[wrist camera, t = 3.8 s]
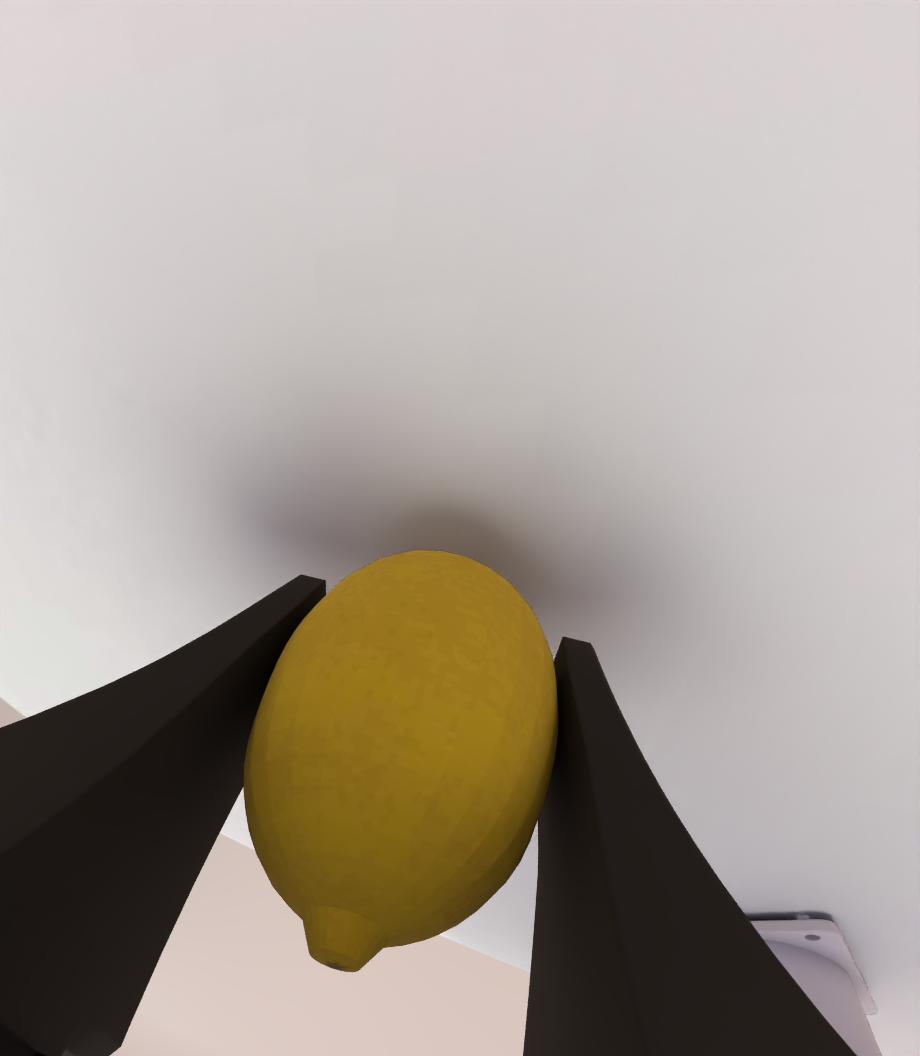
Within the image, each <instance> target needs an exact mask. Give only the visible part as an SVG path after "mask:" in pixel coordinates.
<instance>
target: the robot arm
mask: <svg viewBox="0 0 920 1056" xmlns="http://www.w3.org/2000/svg"><path fill="white" fill-rule="evenodd" d="M325 596H326V580H322V579H318V578H314V577H309V576H305V575H299V576H298V577H296V578H295V579H293V580H291V581H290V582H288V583H286V584H285V585H283V586H282V587H280V588H279V589H277V590H275V591H274V592H272V593H271V594H269V595H268V596H266V597H264V598H263V599H261V600H260V601H258V602H257V603H255V604H253V605H252V606H250V607H249V608H247V609H246V610H244V611H242V612H241V613H239V614H237V615H236V616H234V617H232V618H231V619H229V620H228V621H226V622H224V623H223V624H221V625H219V626H218V627H216V628H214V629H213V630H211V631H209V632H208V633H206V634H204V635H202V636H201V637H199V638H197V639H195V640H193V641H192V642H190V643H188V644H186V645H184V646H183V647H181V648H179V649H177V650H176V651H174V652H172V653H170V654H168V655H166V656H165V657H163V658H161V659H159V660H157V661H155V662H153V663H151V664H149V665H147V666H145V667H143V668H141V669H139V670H137V671H135V672H132V673H130V674H128V675H126V676H124V677H122V678H120V679H118V680H116V681H114V682H111V683H109V684H107V685H105V686H103V687H100V688H98V689H96V690H93V691H91V692H89V693H86V694H84V695H81V696H79V697H77V698H74V699H72V700H69V701H67V702H65V703H62V704H60V705H57V706H55V707H53V708H50V709H48V710H45V711H43V712H41V713H38V714H36V715H33V716H31V717H28V718H25V719H23V720H20V721H17V722H15V723H12V724H9V725H7V726H4V727H1V728H0V1056H109V1055H111V1054H112V1053H113V1052H115V1051H116V1050H117V1049H118V1048H119V1047H121V1045H122V1043H123V1040H124V1038H125V1035H126V1033H127V1031H128V1028H129V1026H130V1024H131V1021H132V1019H133V1017H134V1014H135V1012H136V1010H137V1008H138V1006H139V1003H140V1001H141V999H142V997H143V994H144V992H145V990H146V987H147V985H148V983H149V981H150V978H151V976H152V974H153V972H154V969H155V967H156V965H157V962H158V960H159V958H160V956H161V953H162V951H163V949H164V947H165V945H166V943H167V941H168V939H169V936H170V934H171V932H172V930H173V928H174V925H175V924H176V921H177V919H178V917H179V915H180V913H181V911H182V909H183V906H184V904H185V902H186V900H187V898H188V896H189V894H190V891H191V889H192V887H193V885H194V883H195V881H196V879H197V877H198V875H199V873H200V871H201V869H202V867H203V865H204V863H205V861H206V859H207V857H208V855H209V853H210V850H211V849H212V847H213V845H214V843H215V841H216V838H217V837H218V835H219V833H220V831H221V829H222V827H223V825H224V823H225V821H226V819H227V817H228V815H229V813H230V811H231V809H232V807H233V805H234V803H235V802H236V800H237V798H238V796H239V794H240V792H241V790H242V788H243V787H244V762H245V757H246V751H247V745H248V740H249V737H250V733H251V729H252V726H253V722H254V719H255V716H256V714H257V711H258V708H259V705H260V702H261V700H262V697H263V695H264V692H265V690H266V687H267V685H268V683H269V680H270V678H271V675H272V673H273V671H274V668H275V666H276V664H277V661H278V659H279V658H280V656H281V654H282V652H283V650H284V648H285V646H286V644H287V642H288V641H289V639H290V638H291V636H292V634H293V633H294V631H295V630H296V628H297V627H298V626H299V624H300V623H301V622H302V620H303V619H304V618H305V617H306V615H307V614H308V613H309V612H310V611H311V610H312V609H313V608H314V607H315V606H316V605H317V604H318V603H319V602H320V601H321V600H322V599H323V598H324V597H325ZM553 663H554V669H555V676H556V687H557V701H558V738H557V746H556V754H555V760H554V765H553V769H552V774H551V779H550V782H549V786H548V790H547V793H546V797H545V800H544V803H543V806H542V809H541V812H540V814H539V817H538V879H537V893H536V907H535V922H534V935H533V948H532V960H531V973H530V985H529V998H528V1008H527V1020H526V1030H525V1041H524V1051H523V1056H882V1054H881V1052H880V1050H879V1047H878V1045H877V1042H876V1040H875V1037H874V1035H873V1032H872V1030H871V1027H870V1025H869V1022H868V1020H867V1018H866V1015H873V1014H875V1013H877V1008H876V1005H875V1003H874V1001H873V999H872V997H871V995H870V992H869V990H868V988H867V986H866V984H865V982H864V980H863V978H862V976H861V974H860V972H859V970H858V967H857V965H856V963H855V961H854V959H853V957H852V955H851V953H850V951H849V949H848V947H847V945H846V943H845V940H844V938H843V936H842V934H841V932H840V930H839V928H838V926H837V925H836V924H835V923H834V922H831V921H829V920H823V919H812V920H771V921H749V919H748V918H747V916H746V915H745V914H744V912H743V911H742V910H741V908H740V907H739V906H738V904H737V903H736V902H735V900H734V899H733V897H732V896H731V895H730V893H729V892H728V891H727V889H726V888H725V887H724V885H723V884H722V882H721V881H720V879H719V878H718V877H717V875H716V874H715V872H714V871H713V869H712V868H711V866H710V865H709V863H708V862H707V860H706V859H705V857H704V856H703V854H702V853H701V851H700V850H699V848H698V847H697V845H696V844H695V842H694V841H693V839H692V838H691V836H690V834H689V833H688V831H687V830H686V828H685V827H684V825H683V823H682V822H681V820H680V819H679V817H678V816H677V814H676V812H675V811H674V809H673V807H672V806H671V804H670V802H669V801H668V799H667V797H666V796H665V794H664V792H663V790H662V789H661V787H660V785H659V783H658V782H657V780H656V778H655V776H654V774H653V773H652V771H651V769H650V767H649V765H648V764H647V762H646V760H645V758H644V756H643V754H642V752H641V751H640V749H639V747H638V745H637V743H636V741H635V739H634V737H633V735H632V733H631V731H630V729H629V727H628V725H627V723H626V721H625V719H624V717H623V715H622V713H621V711H620V708H619V706H618V704H617V702H616V700H615V698H614V695H613V693H612V691H611V689H610V686H609V684H608V682H607V679H606V677H605V675H604V672H603V670H602V668H601V665H600V663H599V660H598V658H597V655H596V653H595V650H594V648H593V646H592V645H591V643H588V642H584V641H580V640H576V639H571V638H567V637H563V638H562V640H561V643H560V646H559V649H558V651H557V654H556V657H555V660H554V662H553Z"/></svg>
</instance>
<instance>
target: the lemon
mask: <svg viewBox="0 0 920 1056" xmlns="http://www.w3.org/2000/svg"><path fill="white" fill-rule="evenodd" d="M557 738H558V701H557V687H556V676H555V669H554V663H553V659H552V655H551V651H550V648H549V646H548V643H547V640H546V638H545V636H544V633H543V631H542V629H541V626H540V624H539V622H538V620H537V617H536V616H535V614H534V612H533V610H532V609H531V607H530V606H529V605H528V604H527V602H526V601H525V600H524V599H523V597H522V596H521V595H520V594H519V593H518V591H517V590H516V589H515V588H514V587H513V586H512V585H511V583H509V582H508V581H507V580H505V579H504V578H503V577H502V576H500V575H499V574H498V573H496V572H495V571H494V570H492V569H491V568H490V567H487V566H485V565H483V564H481V563H479V562H477V561H475V560H472V559H470V558H468V557H465V556H461V555H457V554H453V553H448V552H444V551H432V550H414V551H409V552H404V553H400V554H395V555H390V556H386V557H383V558H380V559H378V560H376V561H374V562H372V563H370V564H368V565H366V566H365V567H363V568H361V569H359V570H357V571H355V572H353V573H351V574H350V575H349V576H347V577H346V578H344V579H343V580H342V581H340V582H339V583H338V584H337V585H336V586H335V587H334V588H333V589H332V590H331V591H330V592H329V593H328V594H327V595H326V596H325V597H324V598H323V599H322V600H321V601H320V602H319V603H318V604H317V605H316V606H315V607H314V608H313V609H312V610H311V611H310V612H309V613H308V614H307V615H306V617H305V618H304V619H303V620H302V622H301V623H300V624H299V626H298V627H297V628H296V630H295V631H294V633H293V634H292V636H291V638H290V639H289V641H288V642H287V644H286V646H285V648H284V650H283V652H282V654H281V656H280V658H279V659H278V661H277V664H276V666H275V668H274V671H273V673H272V675H271V678H270V680H269V683H268V685H267V687H266V690H265V692H264V695H263V697H262V700H261V702H260V705H259V708H258V711H257V714H256V716H255V719H254V722H253V726H252V729H251V733H250V737H249V740H248V745H247V751H246V757H245V762H244V800H245V810H246V816H247V822H248V829H249V832H250V836H251V839H252V842H253V845H254V848H255V851H256V854H257V856H258V858H259V860H260V862H261V864H262V866H263V868H264V870H265V872H266V874H267V876H268V878H269V880H270V882H271V884H272V886H273V887H274V889H275V890H276V891H277V892H278V894H279V895H280V896H281V897H282V898H283V900H284V901H285V902H286V904H287V905H288V906H289V907H290V908H291V909H292V910H293V911H294V912H295V913H296V914H297V915H298V916H299V917H300V918H301V919H302V920H303V924H304V929H305V935H306V940H307V945H308V950H309V954H310V955H311V957H312V958H313V959H315V960H316V961H318V962H320V963H321V964H324V965H326V966H328V967H330V968H333V969H337V970H340V971H345V972H356V971H359V970H360V969H361V968H362V967H363V966H364V965H365V964H366V963H367V962H369V960H371V959H372V958H373V957H374V956H375V955H376V954H377V953H378V952H379V951H380V950H382V948H386V947H394V946H403V945H407V944H411V943H415V942H419V941H423V940H426V939H429V938H431V937H434V936H436V935H438V934H440V933H442V932H444V931H446V930H448V929H450V928H452V927H454V926H456V925H458V924H460V923H461V922H462V921H464V920H465V919H466V918H468V917H469V916H471V915H472V914H473V913H475V912H476V911H477V910H478V909H479V908H481V907H482V906H483V905H484V904H485V903H486V902H487V901H488V900H489V899H490V898H491V897H492V896H493V895H494V894H495V893H496V892H497V891H498V890H499V889H500V888H501V887H502V886H503V885H504V884H505V883H506V882H507V880H508V879H509V877H510V876H511V874H512V873H513V872H514V870H515V869H516V867H517V866H518V864H519V863H520V861H521V859H522V857H523V855H524V853H525V851H526V849H527V846H528V844H529V842H530V840H531V837H532V834H533V831H534V829H535V826H536V823H537V820H538V817H539V814H540V812H541V809H542V806H543V803H544V800H545V797H546V793H547V790H548V786H549V782H550V779H551V774H552V769H553V765H554V760H555V754H556V746H557Z"/></svg>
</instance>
